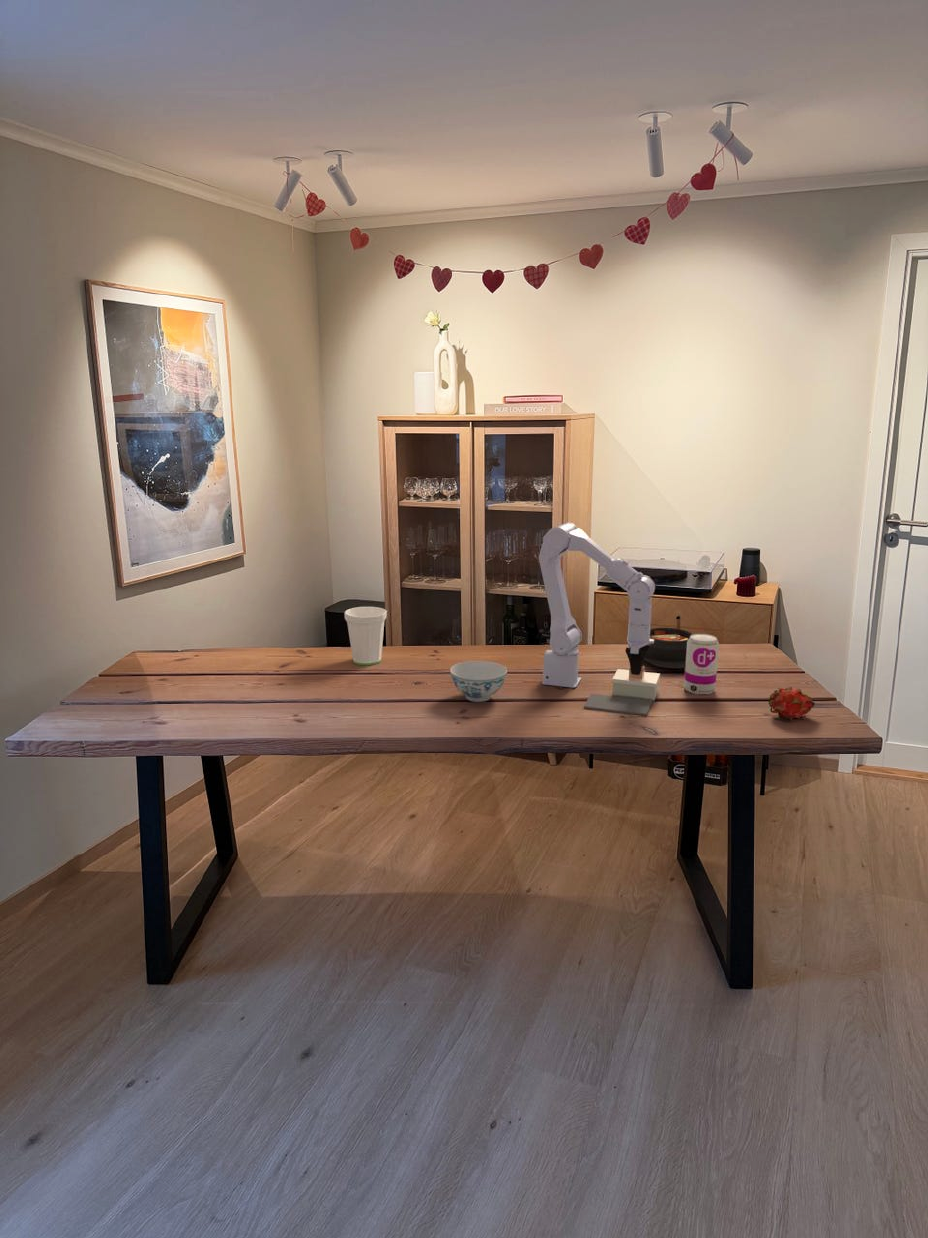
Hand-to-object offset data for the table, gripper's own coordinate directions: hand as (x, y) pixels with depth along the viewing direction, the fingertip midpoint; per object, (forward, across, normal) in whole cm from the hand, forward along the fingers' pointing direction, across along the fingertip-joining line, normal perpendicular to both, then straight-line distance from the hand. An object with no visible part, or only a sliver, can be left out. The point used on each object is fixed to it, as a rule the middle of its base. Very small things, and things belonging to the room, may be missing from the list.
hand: (636, 671), depth 230 cm
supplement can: (+6, +8, -16) cm, 19 cm away
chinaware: (+6, -16, +39) cm, 43 cm away
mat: (+6, -10, +3) cm, 12 cm away
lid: (+3, 0, 0) cm, 3 cm away
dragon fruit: (+6, -4, -39) cm, 40 cm away
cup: (+6, +2, +80) cm, 80 cm away
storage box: (+6, 0, 0) cm, 6 cm away
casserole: (+6, +32, -5) cm, 33 cm away
